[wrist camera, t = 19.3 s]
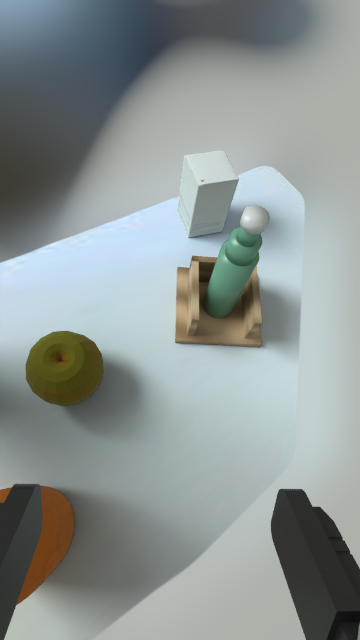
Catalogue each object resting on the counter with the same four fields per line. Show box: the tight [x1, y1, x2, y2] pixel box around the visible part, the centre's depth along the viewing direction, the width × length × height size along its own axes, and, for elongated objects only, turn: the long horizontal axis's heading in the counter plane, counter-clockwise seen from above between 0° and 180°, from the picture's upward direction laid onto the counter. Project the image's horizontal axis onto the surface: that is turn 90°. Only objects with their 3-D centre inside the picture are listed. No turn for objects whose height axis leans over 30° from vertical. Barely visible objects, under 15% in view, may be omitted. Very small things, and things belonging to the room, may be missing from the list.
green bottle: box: [203, 205, 270, 319], centre depth 46 cm, size 5×5×21 cm
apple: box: [26, 331, 103, 406], centre depth 44 cm, size 10×10×11 cm
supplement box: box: [177, 150, 239, 237], centre depth 59 cm, size 7×7×13 cm
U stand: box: [175, 256, 262, 347], centre depth 53 cm, size 14×14×7 cm
